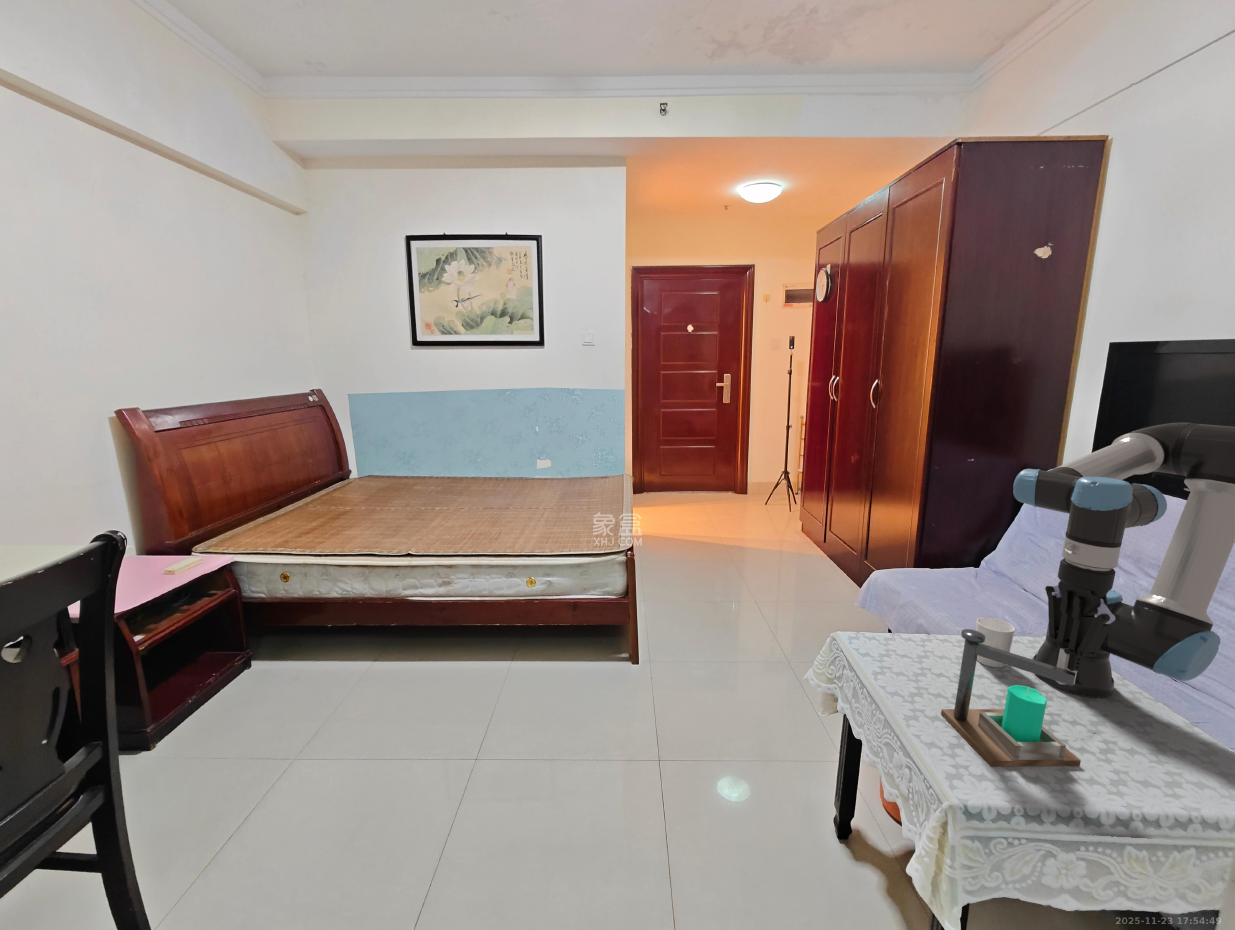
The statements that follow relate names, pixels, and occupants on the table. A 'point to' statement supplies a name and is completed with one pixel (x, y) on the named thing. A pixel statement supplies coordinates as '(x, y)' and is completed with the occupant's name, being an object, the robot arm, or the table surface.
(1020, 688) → the candle
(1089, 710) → the table surface
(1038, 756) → the board
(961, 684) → the bar
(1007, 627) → the white cup
